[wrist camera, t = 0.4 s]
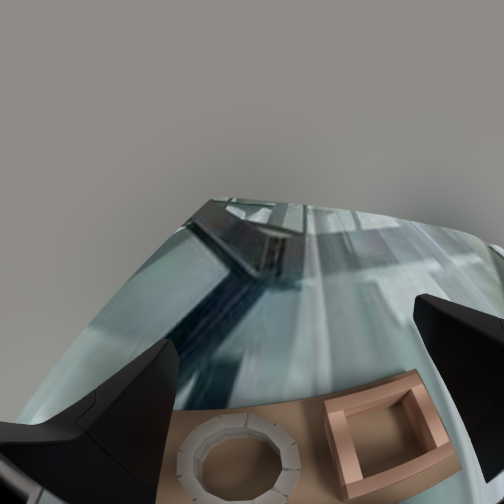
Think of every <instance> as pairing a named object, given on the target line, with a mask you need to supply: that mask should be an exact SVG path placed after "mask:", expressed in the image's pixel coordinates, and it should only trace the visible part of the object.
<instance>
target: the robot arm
mask: <svg viewBox="0 0 504 504" xmlns="http://www.w3.org/2000/svg"><path fill="white" fill-rule="evenodd" d="M413 319H414V322H415V324H416V326H417V328H418V331H419V333H420V335H421V337H422V340H423V342H424V344H425V347H426V349H427V351H428V353H429V355H430V357H431V359H432V360H433V362H434V364H435V366H436V368H437V370H438V371H439V373H440V375H441V377H442V379H443V381H444V383H445V385H446V387H447V389H448V391H449V393H450V395H451V397H452V399H453V401H454V403H455V405H456V407H457V410H458V412H459V414H460V416H461V418H462V421H463V423H464V425H465V428H466V430H467V432H468V435H469V437H470V438H471V439H470V440H471V443H472V445H473V448H474V450H475V453H476V456H477V458H478V461H479V464H480V467H481V470H482V473H483V476H484V479H485V482H486V484H487V483H489V482H490V481H491V480H493V479H494V478H496V477H497V476H498V475H500V474H501V473H502V472H504V319H502V318H498V317H495V316H493V315H490V314H487V313H484V312H481V311H478V310H475V309H472V308H469V307H466V306H463V305H460V304H457V303H454V302H451V301H447V300H444V299H441V298H438V297H435V296H432V295H429V294H421V295H418V296H416V298H415V304H414V312H413ZM178 369H179V356H178V354H177V352H176V349H175V347H174V345H173V342H172V341H171V340H170V339H163V340H159V341H158V342H156V343H155V344H154V345H152V346H151V347H150V348H149V349H147V350H146V351H145V352H143V353H142V354H141V355H139V356H138V357H137V358H135V359H134V360H133V361H131V362H130V363H129V364H128V365H126V366H125V367H124V368H122V369H121V370H120V371H118V372H117V373H116V374H114V375H113V376H112V377H110V378H109V379H108V380H106V381H105V382H104V383H102V384H101V385H100V386H98V387H97V388H96V389H94V390H93V391H92V392H90V393H89V394H88V395H86V396H85V397H83V398H82V399H81V400H79V401H78V402H76V403H75V404H73V405H71V406H70V407H68V408H67V409H65V410H64V411H62V412H60V413H59V414H57V415H55V416H54V417H52V418H50V419H49V420H47V421H45V422H43V423H40V424H36V425H26V424H16V423H8V422H1V421H0V504H155V503H156V496H157V494H156V493H157V489H158V483H159V478H160V472H161V466H162V461H163V456H164V450H165V445H166V440H167V435H168V430H169V425H170V421H171V416H172V411H173V406H174V402H175V397H176V389H177V379H178ZM496 504H504V497H503V499H501V500H500V501H499V502H497V503H496Z"/></svg>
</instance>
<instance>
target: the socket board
mask: <svg viewBox="0 0 504 504" xmlns="http://www.w3.org/2000/svg"><path fill="white" fill-rule="evenodd" d="M461 469H462V467H461V464H460V462H459V459H458V457H457V454H456V452H455V449H454V447H453V444H452V442H451V440H450V437H449V435H448V433H447V430H446V428H445V426H444V424H443V422H442V419H441V417H440V415H439V413H438V411H437V409H436V407H435V405H434V403H433V400H432V398H431V396H430V394H429V392H428V390H427V389H426V387H425V385H424V383H423V381H422V379H421V377H420V375H419V373H418V371H417V369H416V368H415V369H413V370H410V371H407V372H404V373H402V374H399V375H396V376H393V377H390V378H387V379H383V380H380V381H377V382H374V383H370V384H367V385H363V386H360V387H356V388H352V389H348V390H344V391H340V392H336V393H332V394H327V395H322V396H318V397H313V398H308V399H302V400H297V401H291V402H284V403H278V404H270V405H263V406H254V407H244V408H232V409H217V410H185V411H176V410H173V411H172V416H171V421H170V425H169V430H168V435H167V440H166V445H165V450H164V456H163V461H162V466H161V472H160V478H159V483H158V489H157V493H156V494H157V496H156V503H155V504H397V503H399V502H401V501H404V500H406V499H408V498H410V497H412V496H414V495H417V494H419V493H421V492H423V491H425V490H426V489H428V488H430V487H432V486H434V485H436V484H438V483H439V482H441V481H443V480H445V479H446V478H448V477H450V476H451V475H453V474H455V473H456V472H458V471H459V470H461Z"/></svg>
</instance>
